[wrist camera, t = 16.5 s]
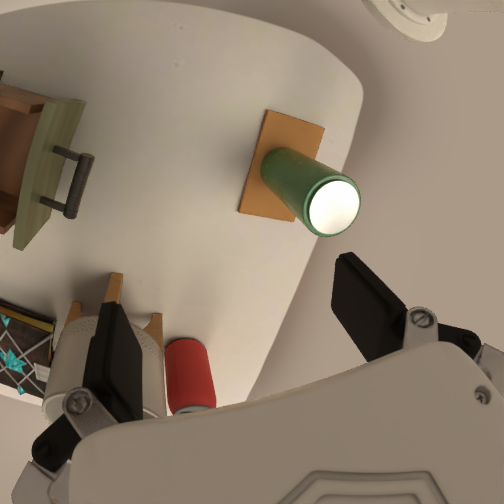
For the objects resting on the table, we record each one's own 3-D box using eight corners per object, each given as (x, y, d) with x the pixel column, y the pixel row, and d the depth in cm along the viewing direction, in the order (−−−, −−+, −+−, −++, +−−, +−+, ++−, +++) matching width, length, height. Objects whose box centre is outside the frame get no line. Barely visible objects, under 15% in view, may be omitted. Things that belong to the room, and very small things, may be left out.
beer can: (173, 331, 40) (180, 401, 30) (213, 342, 43) (228, 408, 32) (158, 358, 42) (162, 423, 32) (196, 367, 45) (206, 429, 35)
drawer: (121, 115, 24) (102, 119, 17) (80, 229, 28) (59, 266, 22) (-4, 75, 16) (-44, 76, 9) (-30, 184, 20) (-66, 208, 14)
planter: (157, 348, 41) (165, 455, 26) (77, 337, 36) (58, 441, 21) (167, 280, 35) (174, 403, 20) (70, 265, 31) (25, 380, 16)
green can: (274, 138, 29) (328, 163, 19) (311, 160, 31) (373, 194, 21) (251, 179, 31) (291, 224, 21) (289, 198, 33) (339, 247, 23)
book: (-29, 283, 27) (-42, 303, 22) (58, 317, 34) (50, 341, 29) (-9, 366, 34) (-16, 385, 30) (61, 392, 41) (58, 413, 37)
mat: (266, 109, 28) (268, 109, 27) (322, 127, 30) (324, 128, 30) (237, 211, 33) (239, 212, 33) (292, 220, 35) (293, 222, 35)
